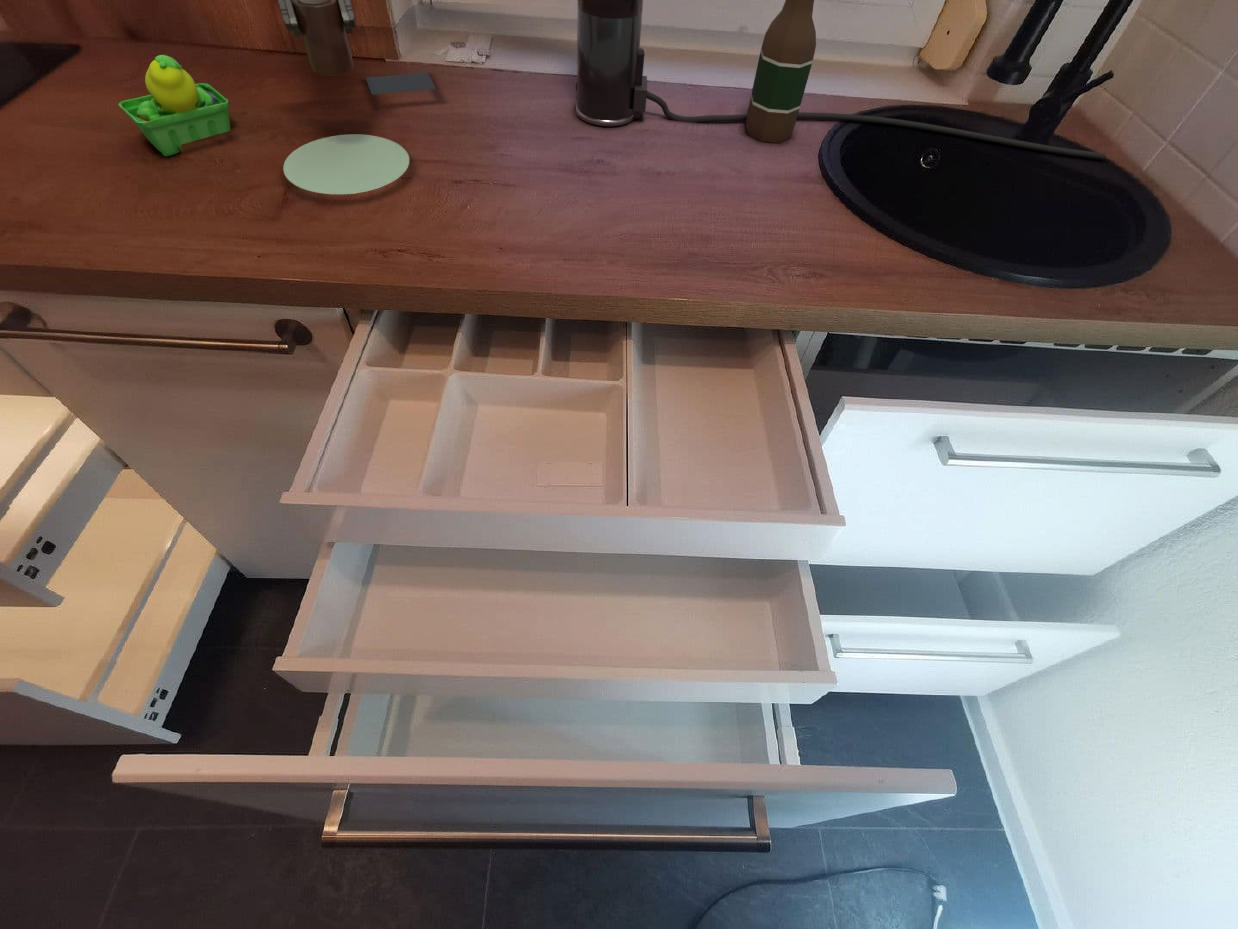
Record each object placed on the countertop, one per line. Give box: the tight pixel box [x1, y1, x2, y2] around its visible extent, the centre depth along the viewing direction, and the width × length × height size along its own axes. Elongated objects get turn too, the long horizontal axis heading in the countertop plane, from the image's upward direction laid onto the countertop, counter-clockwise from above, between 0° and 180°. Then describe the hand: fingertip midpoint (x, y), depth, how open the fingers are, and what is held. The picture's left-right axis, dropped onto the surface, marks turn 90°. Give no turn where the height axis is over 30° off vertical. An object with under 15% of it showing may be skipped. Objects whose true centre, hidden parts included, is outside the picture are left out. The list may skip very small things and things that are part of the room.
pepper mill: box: [291, 0, 355, 76], centre depth 72 cm, size 5×5×10 cm
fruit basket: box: [118, 54, 232, 157], centre depth 81 cm, size 11×9×11 cm
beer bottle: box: [745, 0, 817, 144], centre depth 88 cm, size 8×8×24 cm
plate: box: [282, 133, 410, 195], centre depth 83 cm, size 16×16×1 cm
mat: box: [365, 72, 437, 96], centre depth 98 cm, size 10×10×1 cm
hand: (323, 30), depth 71 cm, fingers closed on pepper mill, 5 cm apart
